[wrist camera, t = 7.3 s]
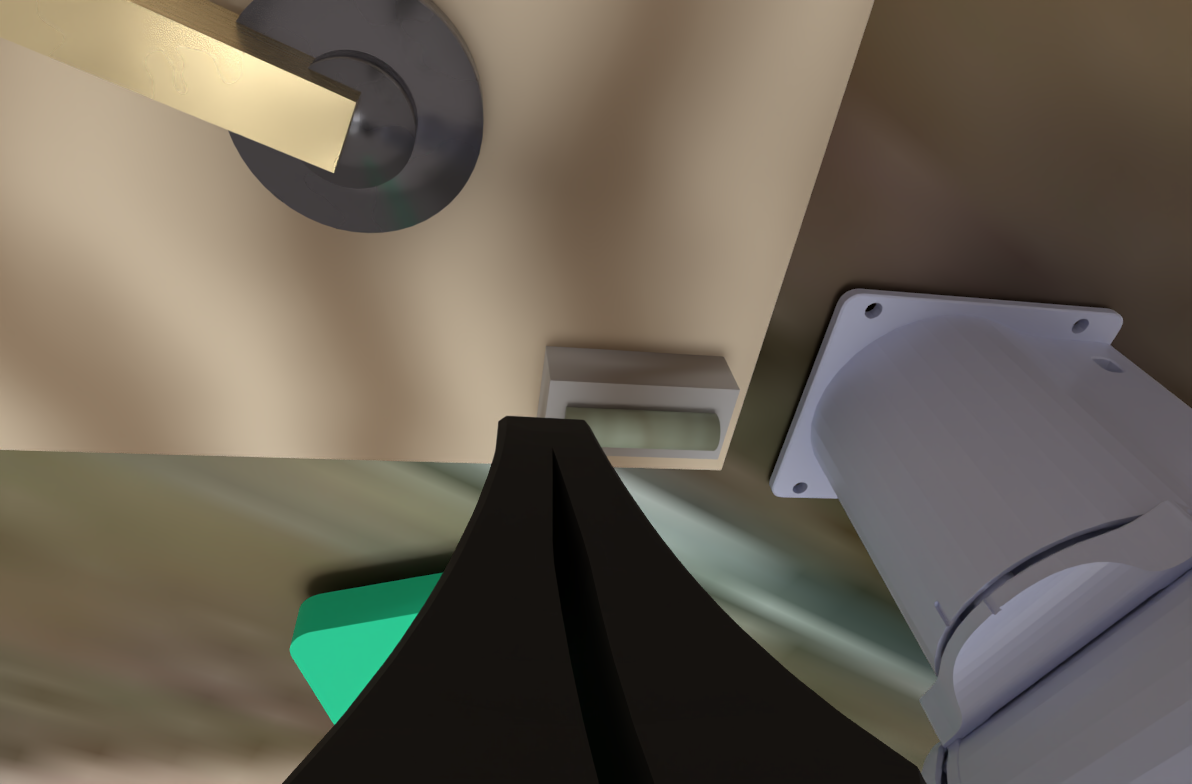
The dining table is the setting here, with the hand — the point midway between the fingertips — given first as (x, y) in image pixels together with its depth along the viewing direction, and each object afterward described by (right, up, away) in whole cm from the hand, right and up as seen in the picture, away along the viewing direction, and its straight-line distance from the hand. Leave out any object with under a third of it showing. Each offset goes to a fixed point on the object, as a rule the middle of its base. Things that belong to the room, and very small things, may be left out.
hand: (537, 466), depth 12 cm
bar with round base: (-7, +8, +2) cm, 11 cm away
